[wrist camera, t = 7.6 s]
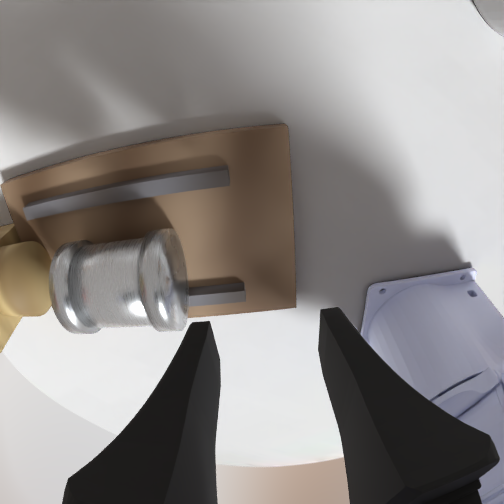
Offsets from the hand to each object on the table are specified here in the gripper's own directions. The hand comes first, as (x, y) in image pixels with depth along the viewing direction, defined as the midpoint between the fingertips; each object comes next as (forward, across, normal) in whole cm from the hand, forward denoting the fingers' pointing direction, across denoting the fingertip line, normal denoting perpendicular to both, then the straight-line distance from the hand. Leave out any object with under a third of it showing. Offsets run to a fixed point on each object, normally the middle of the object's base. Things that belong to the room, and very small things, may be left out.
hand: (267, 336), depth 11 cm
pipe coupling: (+7, +7, 0) cm, 10 cm away
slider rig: (+8, +9, 0) cm, 12 cm away
